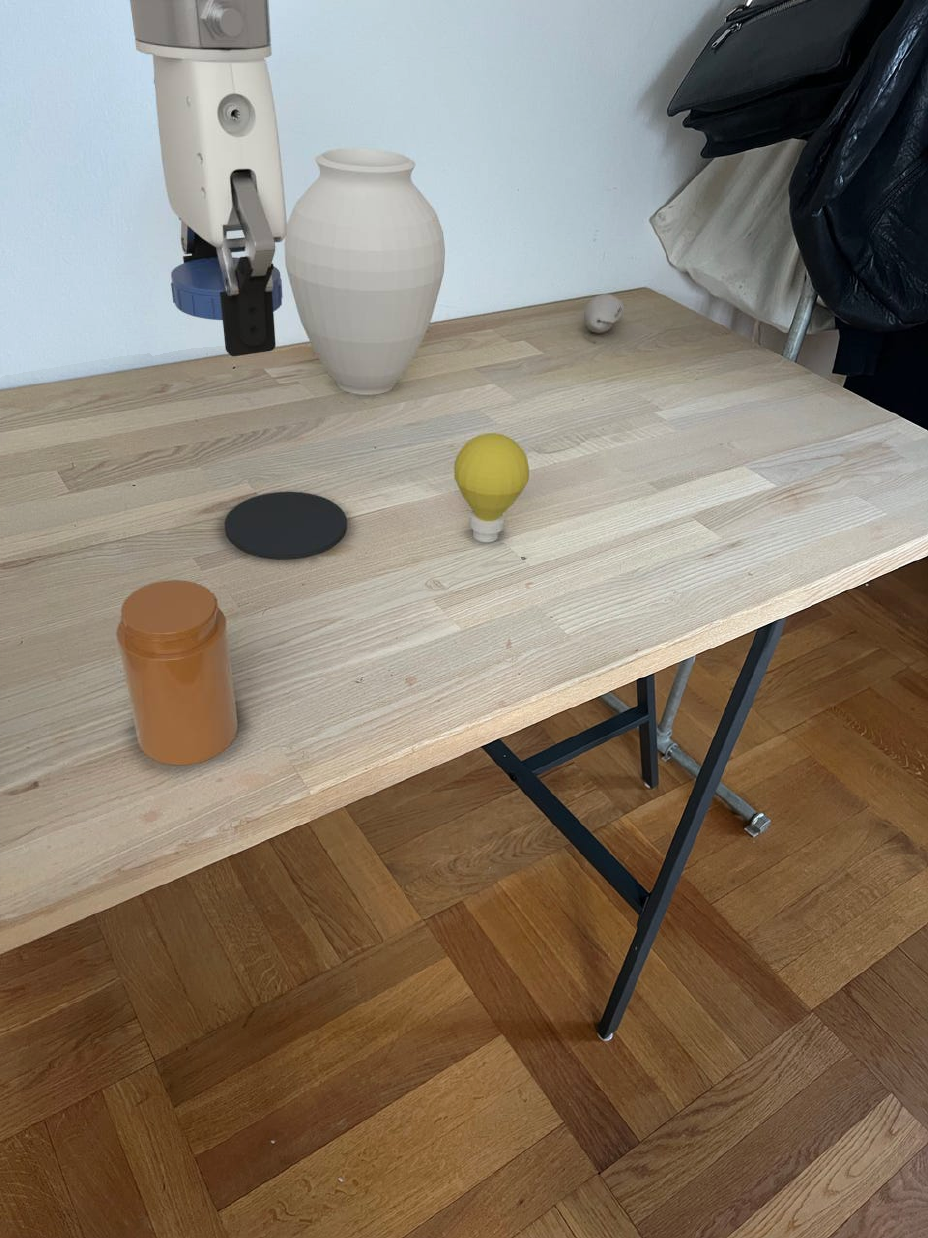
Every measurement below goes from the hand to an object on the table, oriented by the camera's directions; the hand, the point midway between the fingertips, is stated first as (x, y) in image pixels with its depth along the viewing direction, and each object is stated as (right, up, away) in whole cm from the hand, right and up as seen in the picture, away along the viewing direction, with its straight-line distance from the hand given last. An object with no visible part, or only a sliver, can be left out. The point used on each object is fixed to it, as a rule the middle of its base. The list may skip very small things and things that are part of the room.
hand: (231, 329), depth 63 cm
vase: (+4, +9, +50) cm, 51 cm away
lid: (0, +3, -2) cm, 3 cm away
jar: (-3, -27, +1) cm, 27 cm away
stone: (+35, +21, +70) cm, 81 cm away
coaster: (0, -11, +22) cm, 25 cm away
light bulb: (+18, -12, +23) cm, 32 cm away
